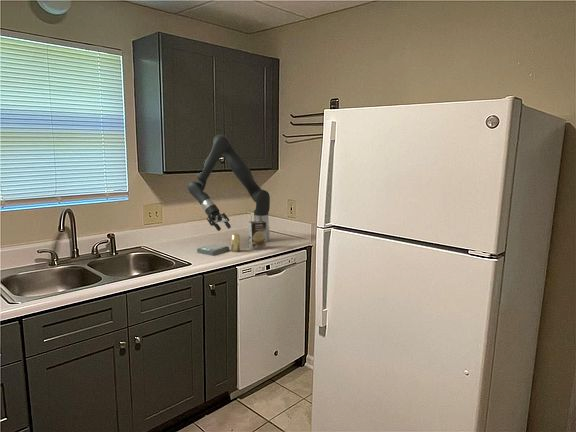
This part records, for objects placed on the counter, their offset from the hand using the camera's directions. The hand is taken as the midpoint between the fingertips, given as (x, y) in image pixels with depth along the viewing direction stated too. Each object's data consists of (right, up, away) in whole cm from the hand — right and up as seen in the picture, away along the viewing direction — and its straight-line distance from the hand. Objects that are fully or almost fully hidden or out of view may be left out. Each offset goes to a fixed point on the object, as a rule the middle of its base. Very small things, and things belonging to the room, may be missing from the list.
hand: (224, 228), depth 257 cm
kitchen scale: (-6, -13, -3) cm, 15 cm away
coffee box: (+19, -12, +5) cm, 23 cm away
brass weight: (+7, -13, -2) cm, 15 cm away
